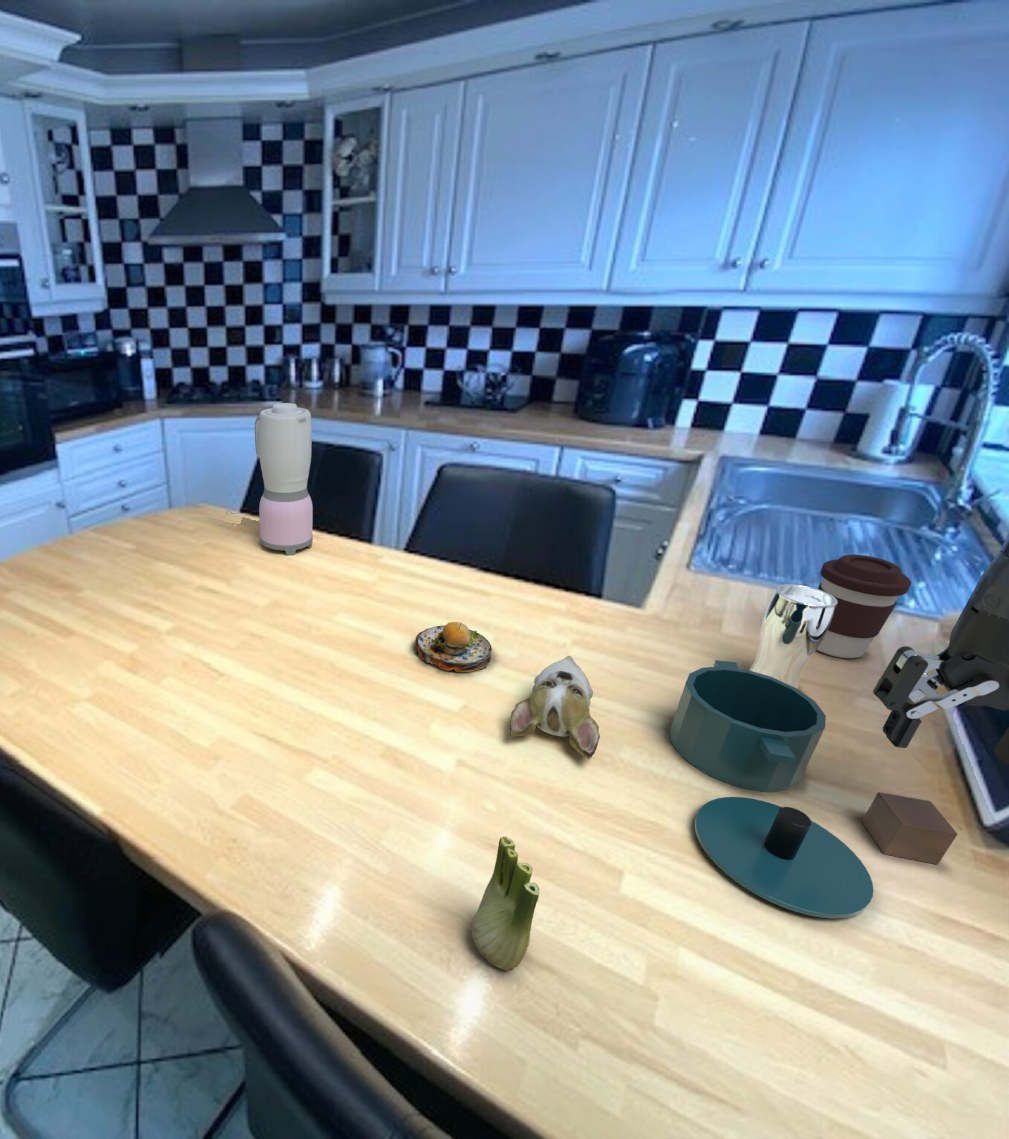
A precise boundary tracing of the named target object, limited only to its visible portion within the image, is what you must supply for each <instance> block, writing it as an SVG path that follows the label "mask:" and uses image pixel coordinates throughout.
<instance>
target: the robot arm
mask: <svg viewBox="0 0 1009 1139" xmlns="http://www.w3.org/2000/svg"><path fill="white" fill-rule="evenodd" d="M933 670H935V671H933ZM931 671H933V672H932V673H930V674H929V672H931ZM941 686H943V687H944V689H945V690H946V692H945V693H939V692H938V691H937V689H938V688H939V687H941ZM872 693H873V695H874V696H875V697H876V698H878V700H880V702H881V703H882V704H883V706H884V707H885V708H886V709H887V710H889V711H890V713H889V715H888V717H887V718H886V720H885V722H884V724H883V726H882V732H883V734H884V735H885V736H886V738H887V740H888V741H889V742H890V744H892V745H893V747H895V748H899V749H907V748H908V747H909V745H910V743H911V741H912V739H913V738H914V736H915V734H916V732H917V731H918V729H919V727H920V725H921V723H922V720H921V718H922V717H924V716H926V715H929V714H931V713H933V712H935V711H937V710H943V711H947V710H950V709H952V708H954V707H956V706H958V705H960V704H963V705H965V706H971V707H990V708H992V709H995V710H1001V711H1007V712H1008V711H1009V534H1008V535H1007V536H1006V539H1005V541H1004V542H1003V544H1002V546H1001V549H1000V550H999V551H998V553H997V554H996V556H995V557H994V558H993V559H992V560H991V562H990V563H989V564H988V566H987V567H986V568H985V569H984V571H983V573H982V574H981V575H980V578H979V580H978V582H977V584H976V585H975V587H974V589H973V591H972V593H971V595H970V596H969V598H968V600H967V602H966V604H965V605H964V608H963V609H962V611H961V613H960V615H959V617H958V619H957V620H956V622H955V624H954V626H953V628H952V630H951V632H950V635H949V643H948V646H947V647H946V648H944V650H943V651H941V652H940V653H938V654H936V655H935V654H931V653H923V652H918V651H917V650H916V649H915V650H914V648H912V647H911V646H908V645H904V646H901V647H899V648H897V650H896V651H895V653H894V655H893V656H892V658H891V660H890V661H889V663H888V665H887V666H886V668H885V670H884V672H883V673H882V674H881V676H880V678H879V680H877V683H876V685H875V686H874V688H873V691H872ZM994 753H995V755H996V756H997V757H999V759H1001V761H1002V762H1004V764H1006V765H1008V766H1009V727H1008V728H1007V729H1006V731H1005V732H1004V734H1003V736H1002V737H1001V739H1000V740H999V742H998V743H997V744H996V746H995V748H994Z"/></svg>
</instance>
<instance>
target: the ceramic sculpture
mask: <svg viewBox="0 0 1009 1139" xmlns="http://www.w3.org/2000/svg"><path fill="white" fill-rule="evenodd" d="M533 683H534V685H533V686H532V690H531V693H530V694H529V697H527V699H524V700H520V701H519V702H517V703H516V704H515V706H514V709H512V710H511V713H510V719H509V728H508V729H509V735H510V736H511V737H513V738H514V737H522V736H527V735H531V734H533V733H534V732H535V731H536V728H538V729H539V730H541V732H544V733H547V734H550V735H552V736H557V737H569V739H568V740H569V744H570V746H571V747H572V748H573V749H574V750H575V751H577V752H578V753H579V754H580V755H582V756H583V757H584V758H586V759H587V760H591V759H592V757H593V755H595V753H596V750H597V747H598V745H599V742H600V738H601V735H600V732H599V728H600V727H599V725H598V723H597V722H596V720H595V719H594V718H593V717H592V716H591V712H590V706H591V699H592V698H593V696H594V690H593V689H592V687H591V684H590V681H589V679H588V677H587V675H586V673H585V672H584V671H583V669H582V668H581V667H580V666H579V665H578V664H577V662H576V661H575V660H574V657H572V655H567V656H566V657H564V658H562V659H560V660H558V661H555V662H553V663H551V664H550V665H548V666H546V667H544V669H543V670H541V672H540V673H538V674H537V675H536V676H535V677H534V679H533Z"/></svg>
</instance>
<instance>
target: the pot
mask: <svg viewBox="0 0 1009 1139" xmlns="http://www.w3.org/2000/svg"><path fill="white" fill-rule="evenodd" d="M826 720H827V715H826V713H825V712H824V710H823V709H822V708H821V707H820V706H819V704H818V703H817V701H815V700H814V699H813V698H811V697H810V696H808V695H807V694H805V693H804V692H803V691H801V690H799V688H798V689H797V688H795V687H793V686H790V685H788V684H786V683H784V682H782V681H779V680H777V679H775V678H773V677H770V676H767V675H763V674H760V673H757V672H753V671H750V670H749V669H745V668H740V667H739V665H738V664H737V662H735V661H727V660H720V659H715V660H714V663H713V666H705V667H700V668H698V669H696V670H694V671H692V672H690V673H688V676H687V679H686V681H685V684H684V687H683V690H682V693H681V696H680V699H679V702H678V705H677V708H676V711H675V714H674V717H673V720H672V723H671V726H670V730H669V739H670V741H671V743H672V746H673V748H674V749H675V751H676V752H677V753H678V754H679V755H680V756H681V757H682V758H683V759H684V760H685V761H686V762H687V763H689V764H690V765H692V766H693V767H694V768H696V769H697V770H699V771H700V772H702V773H704V774H705V775H708V776H709V777H712V778H714V779H716V780H717V781H720V782H723V783H725V784H728V785H731V786H734V787H737V788H741V789H746V790H750V791H756V792H767V793H769V792H770V793H771V792H774V793H775V792H782V791H786V790H789V789H791V788H793V787H794V786H795V785H797V784H798V783H799V781H800V780H802V778H803V776H804V774H805V771H806V770H807V767H808V765H809V763H810V761H811V759H812V757H813V754H814V752H815V750H816V747H817V746H818V743H819V741H820V739H821V737H822V735H823V733H824V731H825V729H826Z"/></svg>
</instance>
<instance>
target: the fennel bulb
mask: <svg viewBox="0 0 1009 1139" xmlns="http://www.w3.org/2000/svg"><path fill="white" fill-rule="evenodd" d="M515 849H516V844H515V843H514V841H513V839H511V838H509V837H508V836H502V837H500V838H499V841H498V846H497V852H496V859H495V863H494V867H493V868H494V869H493V872H492V874H491V878H490V879H489V881H488V883H487V885H486V888H485V890H484V893H483V895H482V898H481V901H480V903H479V905H478V908H477V911H476V912H475V914H474V916H473V918H472V920H471V928H470V929H471V937H472V939H473V943H474V945H475V947H476V948H477V950H478V952H479V953H480V954H481V955H482V957H483V958H484V959H486V960H487V962H488V963H490V964H491V965H492V966H494V967H496V968H498V969H501V970H504V971H506V972H511V971H513V970H515V969H516V968H517V967H518V966H519V965H520V964H521V963H522V962H523V960H524V958H525V956H526V953H527V950H528V948H529V945H530V940H531V932H532V931H531V930H532V926H533V925H532V924H533V918H534V914H535V909H536V906H537V904H538V901H539V897H540V887H539V886H538V884H537V883H536V882H535V881H534V882H532V881H531V878H532V876H533V867H532V866H531V865H530V864H529V863H528V862H523V861H522V862H519V854H518V852H517V851H516V850H515Z"/></svg>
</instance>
